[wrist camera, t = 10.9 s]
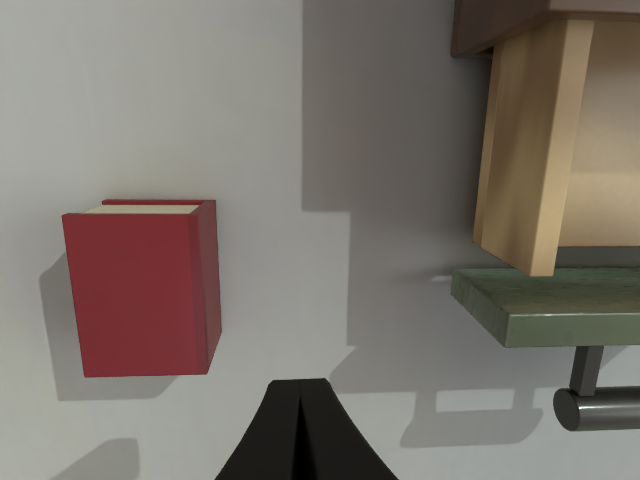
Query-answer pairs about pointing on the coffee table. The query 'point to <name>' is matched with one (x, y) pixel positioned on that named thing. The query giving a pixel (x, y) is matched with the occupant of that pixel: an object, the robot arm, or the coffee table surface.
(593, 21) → the drawer
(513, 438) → the coffee table surface
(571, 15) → the cabinet
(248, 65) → the coffee table surface
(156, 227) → the book
